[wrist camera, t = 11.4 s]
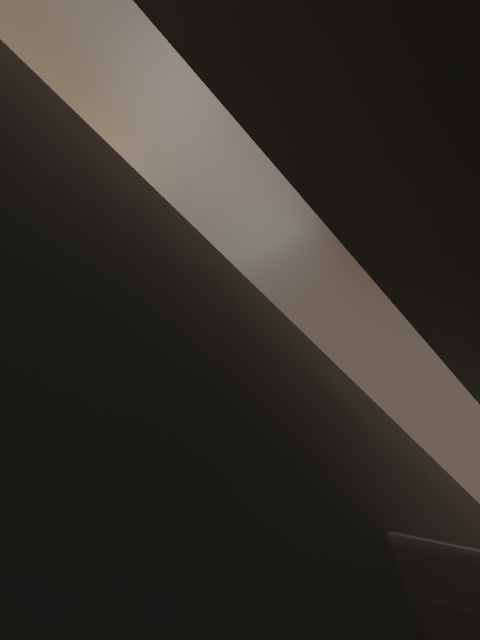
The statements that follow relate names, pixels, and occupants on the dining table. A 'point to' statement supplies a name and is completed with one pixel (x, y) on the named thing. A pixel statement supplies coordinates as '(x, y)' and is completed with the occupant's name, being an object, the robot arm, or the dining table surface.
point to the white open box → (364, 134)
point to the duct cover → (178, 424)
